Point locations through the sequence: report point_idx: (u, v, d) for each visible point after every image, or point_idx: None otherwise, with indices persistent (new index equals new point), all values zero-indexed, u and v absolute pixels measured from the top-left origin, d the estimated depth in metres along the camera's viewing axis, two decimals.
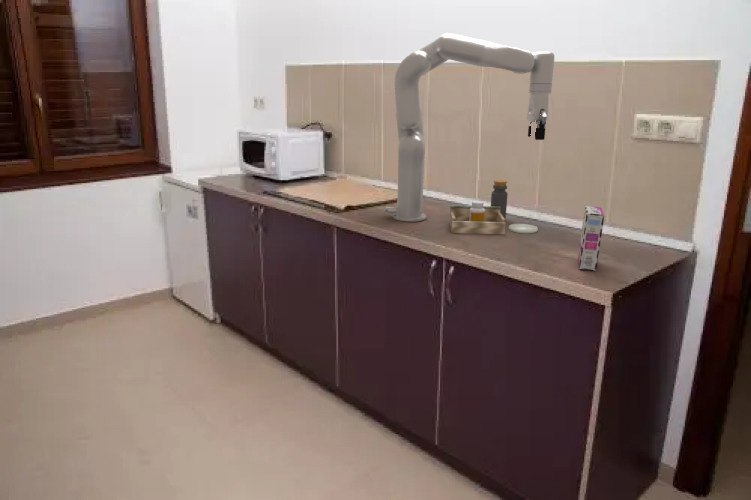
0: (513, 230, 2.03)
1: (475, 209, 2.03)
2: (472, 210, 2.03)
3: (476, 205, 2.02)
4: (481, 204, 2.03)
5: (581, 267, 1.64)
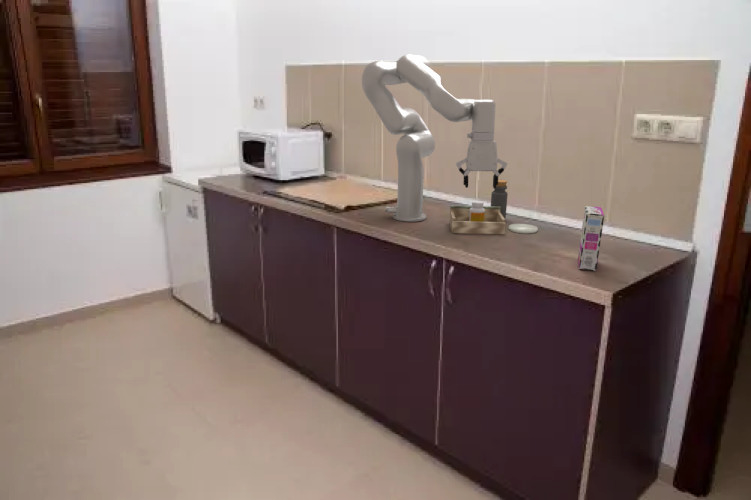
0: (513, 230, 2.03)
1: (475, 209, 2.03)
2: (472, 210, 2.03)
3: (476, 205, 2.02)
4: (481, 204, 2.03)
5: (581, 267, 1.64)
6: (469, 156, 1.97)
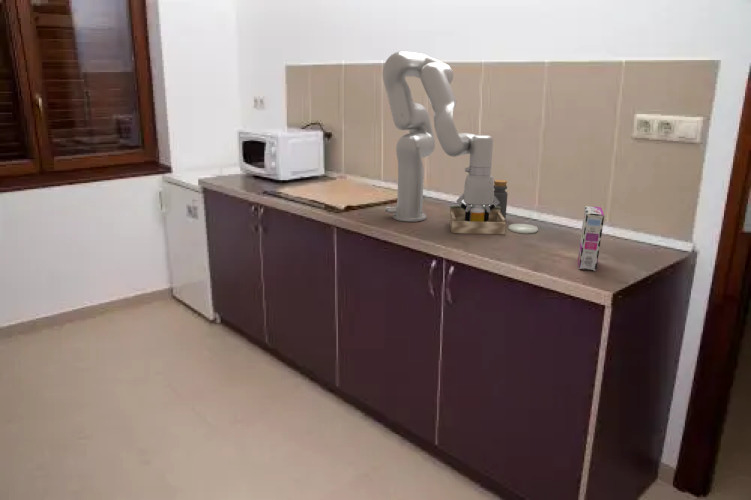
0: (513, 230, 2.03)
1: (475, 209, 2.03)
2: (472, 210, 2.03)
3: (476, 205, 2.02)
4: None
5: (581, 267, 1.64)
6: (466, 190, 2.00)
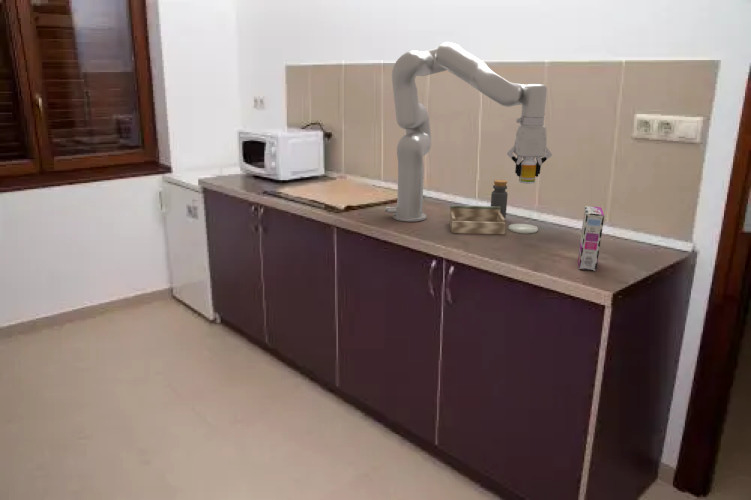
0: (513, 230, 2.03)
1: (527, 161, 1.97)
2: (523, 162, 1.98)
3: (528, 157, 1.97)
4: None
5: (581, 267, 1.64)
6: (518, 141, 1.95)
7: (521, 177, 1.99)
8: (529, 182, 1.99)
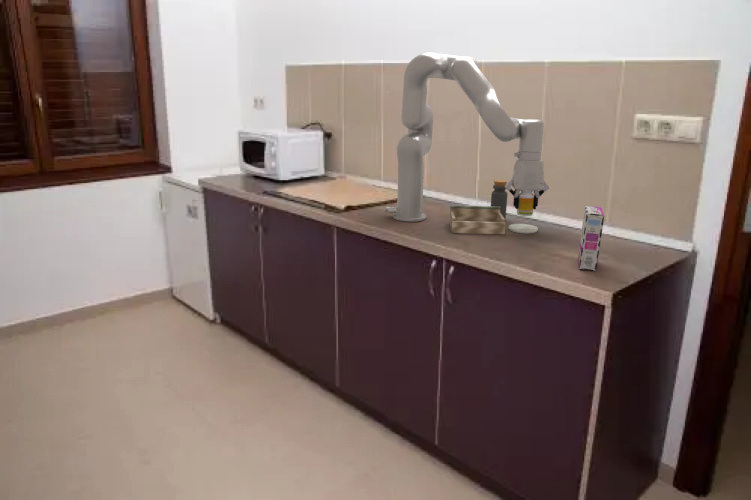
0: (513, 230, 2.03)
1: (524, 194, 2.00)
2: (521, 195, 2.01)
3: (526, 191, 2.00)
4: None
5: (581, 267, 1.64)
6: (516, 175, 1.98)
7: (519, 210, 2.03)
8: (527, 215, 2.02)
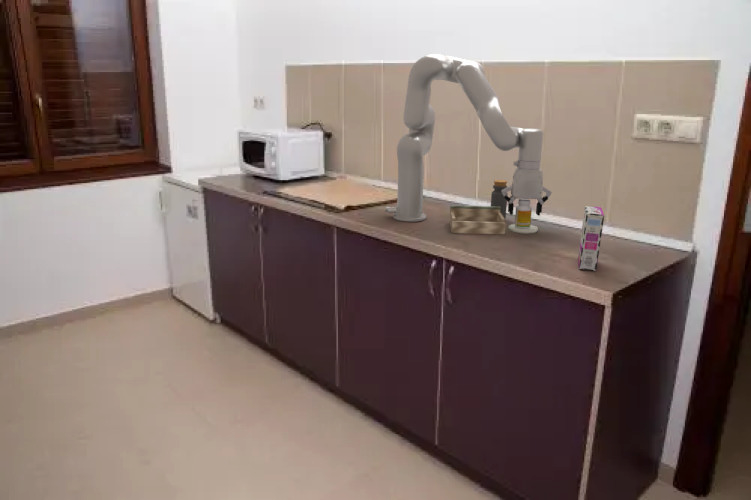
0: (513, 230, 2.03)
1: (522, 207, 2.02)
2: (519, 208, 2.02)
3: (523, 203, 2.02)
4: (528, 202, 2.02)
5: (581, 267, 1.64)
6: (515, 184, 1.99)
7: (517, 222, 2.04)
8: (525, 227, 2.03)
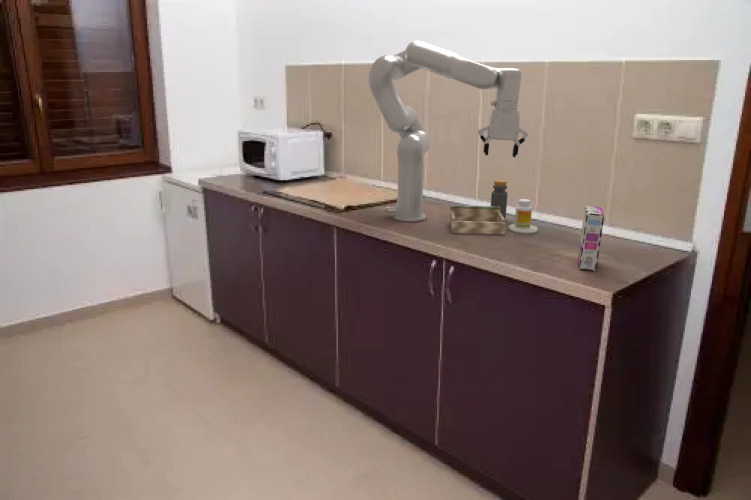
0: (513, 230, 2.03)
1: (522, 207, 2.02)
2: (519, 208, 2.02)
3: (523, 204, 2.02)
4: (528, 202, 2.02)
5: (581, 267, 1.64)
6: (491, 124, 1.99)
7: (517, 222, 2.04)
8: (525, 227, 2.03)
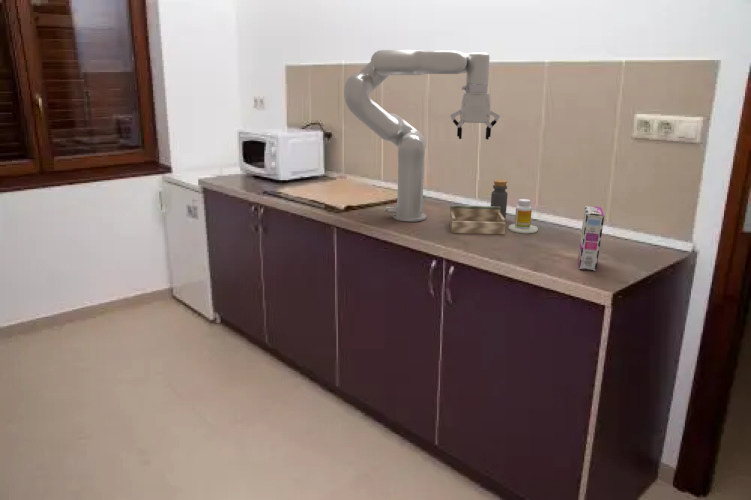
0: (513, 230, 2.03)
1: (522, 207, 2.02)
2: (519, 208, 2.02)
3: (523, 203, 2.02)
4: (528, 202, 2.02)
5: (581, 267, 1.64)
6: (463, 107, 2.04)
7: (517, 222, 2.04)
8: (525, 227, 2.03)
